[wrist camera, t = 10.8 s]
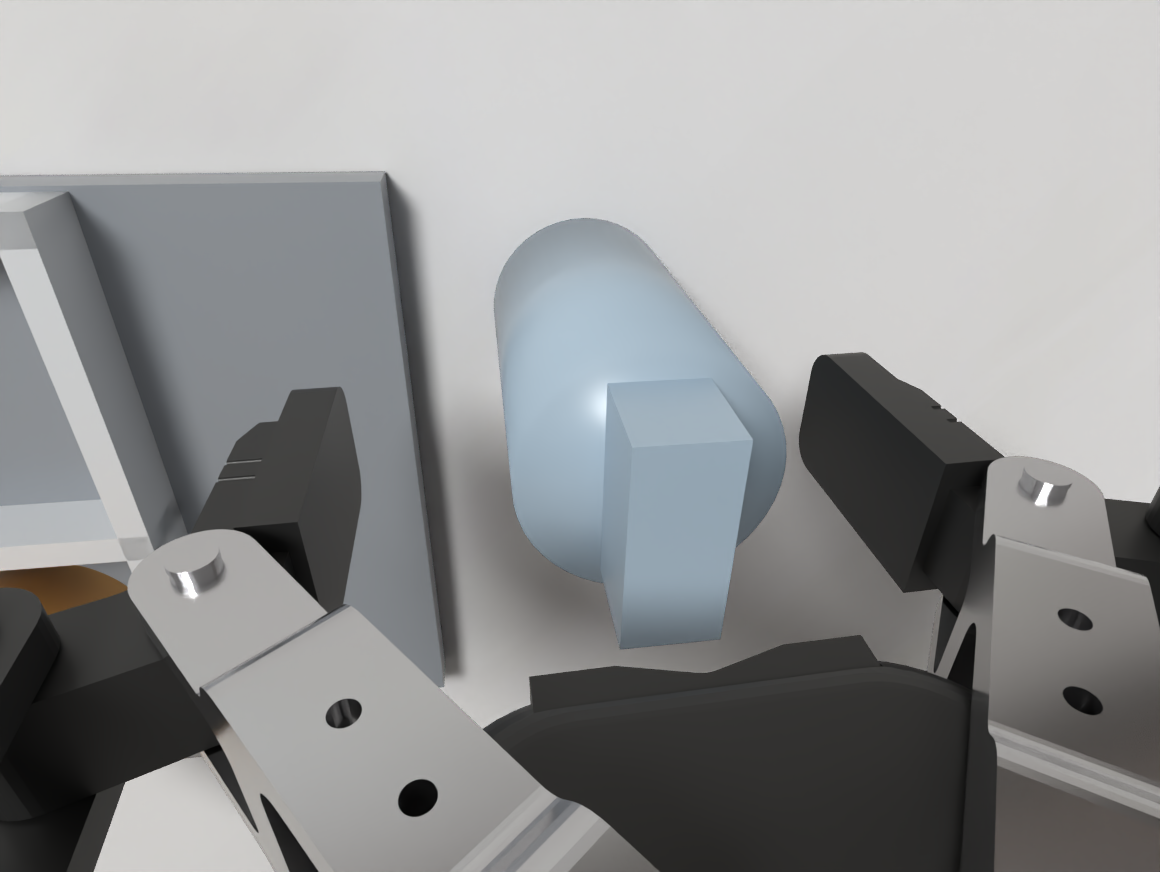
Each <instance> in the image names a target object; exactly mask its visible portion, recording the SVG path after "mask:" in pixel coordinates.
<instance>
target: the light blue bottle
mask: <svg viewBox="0 0 1160 872" xmlns="http://www.w3.org/2000/svg"><path fill="white" fill-rule="evenodd" d="M494 317H495V327H496V337H497V347H498V357H499V367H500V377H501V387H502V397H503V407H504V417H505V427H506V437H507V447H508V457H509V467H510V477H511V487H512V496H513V503H514V508H515V511H516V515H517V518H518V521H519V523H520V525H521V527H522V529H523V531H524V533H525V534H526V536H527V537H528V539H529V540H530V542H531V543H532V545H533V546H534V547H535V548H536V549H537V550H538V551H539V552H540V553H541V554H542V555H543V556H544V557H546V558H547V559H548V560H549V561H551V562H552V563H553V564H555V565H556V566H558V567H560V568H562V569H563V570H565V571H567V572H569V573H571V574H574V575H576V576H578V577H581V578H584V579H587V580H591V581H594V582H599V583H604V587H605V591H606V595H607V599H608V603H609V607H610V611H611V615H612V619H613V623H614V627H615V631H616V636H617V640H618V644H619V648H620V649H630V648H640V647H650V646H660V645H669V644H679V643H689V642H699V641H709V640H719V639H720V638H721V632H722V626H723V620H724V614H725V608H726V602H727V596H728V590H729V584H730V578H731V572H732V566H733V559H734V553H735V548H736V547H737V546H738V545H739V544H740V543H741V542H743V541H744V540H745V539H746V538H747V537H748V536H749V535H750V534H751V533H752V532H753V530H754V529H755V528H756V527H757V526H758V525H759V523H760V522H761V521H762V519H763V518H764V517H765V515H766V514H767V512H768V511H769V509H770V507H771V505H772V504H773V502H774V500H775V498H776V495H777V493H778V491H779V488H780V486H781V482H782V479H783V475H784V471H785V463H786V440H785V434H784V429H783V425H782V423H781V420H780V417H779V414H778V412H777V410H776V409H775V407H774V405H773V403H772V402H771V400H770V399H769V397H768V396H767V395H766V393H765V392H764V391H763V390H762V388H761V387H760V386H759V385H758V383H757V382H756V381H755V380H754V378H753V377H752V376H751V375H750V373H749V372H748V371H747V370H746V368H745V367H744V366H743V365H742V363H741V362H740V361H739V360H738V358H737V357H736V356H735V354H734V353H733V352H732V351H731V349H730V348H729V347H728V346H727V344H726V343H725V342H724V341H723V339H722V338H721V337H720V336H719V334H718V333H717V332H716V331H715V329H714V328H713V327H712V326H711V324H710V323H709V322H708V321H707V319H706V318H705V317H704V315H703V314H702V313H701V312H700V310H699V309H698V308H697V307H696V305H695V304H694V303H693V302H692V300H691V299H690V298H689V297H688V295H687V294H686V293H685V292H684V290H683V289H682V288H681V287H680V285H679V284H678V283H677V282H676V280H675V279H674V278H673V276H672V275H671V274H670V273H669V271H668V270H667V269H666V268H665V266H664V265H663V264H662V263H661V261H660V260H659V259H658V258H657V256H656V255H655V254H654V253H653V251H652V250H651V249H650V248H649V246H648V245H647V244H646V243H645V242H644V241H643V240H642V239H641V238H639V237H638V236H637V235H636V234H634V233H633V232H631V231H630V230H628V229H626V228H624V227H622V226H620V225H618V224H615V223H612V222H609V221H605V220H599V219H590V218H580V219H570V220H566V221H561V222H558V223H555V224H552V225H550V226H547V227H545V228H543V229H542V230H540V231H538V232H536V233H535V234H533V235H532V236H530V237H529V238H528V239H526V240H525V241H524V242H523V243H522V244H521V245H520V246H519V247H518V248H517V249H516V250H515V251H514V253H513V254H512V255H511V256H510V258H509V259H508V261H507V263H506V264H505V266H504V268H503V270H502V272H501V274H500V276H499V279H498V283H497V286H496V290H495V297H494Z"/></svg>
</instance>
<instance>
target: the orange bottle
mask: <svg viewBox="0 0 1160 872" xmlns="http://www.w3.org/2000/svg"><path fill="white" fill-rule="evenodd" d="M5 587H6V588H19V589H25V590H27V591H30V592H32V593H33V594H35V595H36V596H37V597H38V598H39V600H40V602H41V604H42V605H43V607H44V609H45V611H46V613H47V615H50V614H53V613H57V612H60V611H63V610H67V609H70V608H73V607H77V606H80V605H83V604H87V603H90V602H93V601H97V600H100V599H103V598H107V597H110V596H113V595H116V594H119V593H121V592H124V591H126V590H128V588H127V586H126V585H124V584H123V583H121V582H120V581H118V580H116V579H114V578H112V577H110V576H108V575H106V574H103V573H101V572H99V571H96V570H93V569H90V568H87V567H83V566H79V565H70V566H57V567H44V568H31V569H18V570H5V571H0V588H5Z"/></svg>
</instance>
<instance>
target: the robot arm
mask: <svg viewBox="0 0 1160 872" xmlns="http://www.w3.org/2000/svg"><path fill="white" fill-rule="evenodd" d="M799 448H800V454H801V457H802V460H803V463H804V465H805V466H806V468H807V469H808V471H809V472H810V473H811V474H812V476H813V477H814V478H815V480H816V481H817V482H818V483H819V485H820V486H821V487H822V489H823V490H824V491H825V492H826V494H827V495H828V496H829V498H830V499H831V500H832V501H833V503H834V504H835V505H836V507H837V508H838V509H839V510H840V512H841V513H842V514H843V516H844V517H845V518H846V519H847V521H848V522H849V523H850V525H851V526H852V527H853V528H854V530H855V531H856V532H857V534H858V535H859V536H860V537H861V539H862V540H863V541H864V543H865V544H866V545H867V546H868V548H869V549H870V550H871V552H872V553H873V554H874V555H875V557H876V558H877V559H878V560H879V562H880V563H881V564H882V566H883V567H884V568H885V569H886V571H887V572H888V573H889V575H890V576H891V577H892V578H893V580H894V581H895V582H896V584H897V585H898V586H899V587H900V589H901V590H902V591H903V593H906V592H915V591H923V590H931V589H939V590H940V592H941V593H942V594H941V597H940V600H939V603H938V605H937V608H936V611H935V617H934V624H933V631H932V639H931V646H930V653H929V660H928V667H927V671H924V670H920V669H916V668H913V667H909V666H905V665H900V664H895V663H889V662H883V661H877V659H876V658H875V656H874V655H873V653H872V651H871V650H870V648H869V647H868V645H867V644H866V642H865V641H864V639H863V638H862V636H861V635H857V636H849V637H841V638H833V639H825V640H817V641H810V642H802V643H794V644H786V645H782V646H779V647H776V648H774V649H771V650H769V651H766V652H763V653H761V654H758V655H756V656H753V657H750V658H748V659H745V660H743V661H740V662H737V663H735V664H732V665H730V666H727V667H725V668H722V669H719V670H717V671H714V672H710V673H691V672H679V671H667V670H655V669H644V668H632V667H620V666H611V667H603V668H595V669H587V670H579V671H571V672H563V673H556V674H548V675H540V676H532V677H529V681H530V700H531V705H528V706H525V707H523V708H520V709H518V710H515V711H513V712H511V713H509V714H507V715H505V716H503V717H502V718H500V719H498V720H496V721H494V722H493V723H491V724H490V725H488V726H487V727H485V728H484V729H482V728H481V727H480V726H479V725H478V724H477V723H476V722H474V721H473V720H472V719H471V718H470V717H469V716H468V715H467V714H466V713H465V712H464V711H463V710H462V709H461V708H460V707H459V706H458V705H457V704H456V703H454V702H453V701H452V700H451V699H450V698H449V697H448V696H447V695H446V694H445V693H444V692H443V691H442V690H441V689H440V688H439V687H438V686H437V685H436V684H434V683H433V682H432V681H431V680H430V679H429V678H428V677H427V676H426V675H425V674H424V673H423V672H422V671H421V670H420V669H419V668H418V667H417V666H416V665H415V664H413V663H412V662H411V661H410V660H409V659H408V658H407V657H406V656H405V655H404V654H403V653H402V652H401V651H400V650H399V649H398V648H397V647H396V646H395V645H393V644H392V643H391V642H390V641H389V640H388V639H387V638H386V637H385V636H384V635H383V634H382V633H381V632H380V631H379V630H378V629H377V628H376V627H375V626H373V625H372V624H371V623H370V622H369V621H368V620H367V619H366V618H365V617H364V616H363V615H362V614H361V613H360V612H359V611H357V610H356V609H355V608H353V607H352V606H350V605H347V604H343V602H344V596H345V591H346V585H347V580H348V574H349V569H350V563H351V558H352V552H353V547H354V541H355V535H356V530H357V524H358V519H359V513H360V508H361V476H360V469H359V464H358V459H357V453H356V448H355V443H354V438H353V433H352V428H351V423H350V417H349V412H348V407H347V402H346V398H345V394H344V391H343V389H342V388H341V387H326V388H311V389H296V390H292V391H291V392H290V394H289V396H288V398H287V401H286V403H285V406H284V408H283V410H282V413H281V415H280V417H279V420H278V421H273V422H260V423H258V424H257V425H255V426H254V427H253V428H252V429H251V430H249V431H248V432H247V433H246V434H244V435H243V436H242V437H241V438H239V439H238V440H237V441H236V443H235V445H234V447H233V449H232V451H231V453H230V455H229V457H228V459H227V461H226V462H227V465H224V467H223V469H222V471H221V473H220V475H219V477H218V482H216V483H215V485H214V487H213V489H212V491H211V493H210V495H209V497H208V499H207V501H206V503H205V505H204V507H203V509H202V511H201V513H200V515H199V517H198V519H197V521H196V523H195V525H194V527H193V529H192V531H191V533H190V534H189V535H186V536H183V537H180V538H178V539H175V540H173V541H171V542H169V543H167V544H165V545H163V546H161V547H160V548H158V549H156V550H155V551H153V552H152V553H151V554H149V555H148V556H147V557H145V558H144V559H143V560H142V561H141V562H140V563H139V564H138V565H137V567H136V568H135V569H134V570H133V572H132V574H131V576H130V578H129V581H128V585H127V588H128V590H126V591H124V592H121V593H119V594H116V595H113V596H110V597H107V598H103V599H100V600H97V601H93V602H90V603H87V604H83V605H80V606H77V607H73V608H70V609H67V610H63V611H60V612H57V613H53V614H50V615H47V613H46V611H45V609H44V607H43V605H42V604H41V602H40V600H39V598H38V597H37V596H36V595H35V594H33V593H32V592H30V591H27V590H25V589H19V588H6V587H5V588H0V872H94V869H95V866H96V863H97V860H98V857H99V855H100V852H101V849H102V846H103V843H104V841H105V838H106V835H107V832H108V829H109V826H110V824H111V821H112V818H113V815H114V812H115V809H116V807H117V804H118V801H119V798H120V795H121V793H122V790H123V787H124V784H125V782H127V781H129V780H132V779H134V778H137V777H139V776H142V775H144V774H147V773H149V772H152V771H154V770H157V769H159V768H162V767H164V766H167V765H169V764H172V763H174V762H177V761H179V760H182V759H184V758H187V757H189V756H192V755H194V754H197V753H199V752H200V753H201V755H202V757H203V758H204V760H205V761H206V763H207V764H208V766H209V768H210V769H211V771H212V772H213V774H214V775H215V777H216V779H217V780H218V782H219V783H220V785H221V786H222V788H223V790H224V791H225V793H226V794H227V796H228V797H229V799H230V800H231V802H232V804H233V805H234V807H235V808H236V810H237V811H238V813H239V815H240V816H241V818H242V819H243V821H244V822H245V824H246V826H247V827H248V829H249V830H250V832H251V833H252V835H253V836H254V838H255V840H256V841H257V843H258V844H259V846H260V847H261V849H262V851H263V852H264V854H265V856H266V857H267V859H268V861H269V862H270V864H271V866H272V868H273V870H274V871H275V872H1160V487H1159V489H1158V491H1157V493H1156V494H1155V496H1154V498H1153V500H1152V502H1151V503H1141V502H1132V501H1122V500H1112V499H1104V496H1103V493H1102V492H1101V490H1100V489H1099V488H1098V487H1097V486H1096V485H1095V484H1094V483H1093V482H1092V481H1091V480H1089V479H1088V478H1087V477H1085V476H1083V475H1082V474H1080V473H1078V472H1076V471H1074V470H1072V469H1070V468H1068V467H1065V466H1063V465H1060V464H1057V463H1054V462H1051V461H1047V460H1043V459H1038V458H1033V457H1024V456H1011V457H1004V456H1003V455H1002V454H1000V453H999V452H998V451H997V450H995V449H994V448H993V447H992V446H990V445H989V444H988V443H987V442H985V441H984V440H983V439H982V438H980V437H979V436H978V435H977V434H976V433H974V432H973V431H972V430H971V429H969V428H968V427H967V426H966V425H964V424H963V423H962V422H957V418H956V417H954V416H953V415H952V414H951V413H949V412H948V411H947V410H946V409H941V405H940V404H938V403H937V402H936V401H935V400H933V399H932V398H931V397H930V396H928V395H927V394H926V393H925V392H923V391H922V390H920V389H918V388H916V387H914V386H912V385H910V384H907V383H905V382H903V381H901V380H899V379H897V378H896V377H894V376H893V375H892V374H891V373H890V372H888V371H887V370H886V369H885V368H883V367H882V366H881V365H880V364H879V363H877V362H876V361H875V360H874V359H873V358H871V357H870V356H869V355H868V354H866V353H863V352H860V353H845V354H830V355H821V356H819V357H818V358H817V359H816V360H815V362H814V364H813V367H812V371H811V376H810V381H809V386H808V391H807V397H806V402H805V407H804V412H803V417H802V422H801V428H800V433H799Z"/></svg>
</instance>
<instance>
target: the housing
mask: <svg viewBox="0 0 1160 872" xmlns="http://www.w3.org/2000/svg"><path fill="white" fill-rule="evenodd" d="M326 387H341V388H342V389H343V391H344V394H345V398H346V402H347V407H348V412H349V417H350V423H351V428H352V433H353V438H354V443H355V448H356V453H357V459H358V464H359V469H360V476H361V508H360V513H359V519H358V524H357V530H356V535H355V541H354V547H353V552H352V558H351V563H350V569H349V574H348V580H347V585H346V591H345V596H344V602H343V604H347V605H350V606H352V607H353V608H355V609H356V610H357V611H359V612H360V613H361V614H362V615H363V616H364V617H365V618H366V619H367V620H368V621H369V622H370V623H371V624H372V625H373V626H375V627H376V628H377V629H378V630H379V631H380V632H381V633H382V634H383V635H384V636H385V637H386V638H387V639H388V640H389V641H390V642H391V643H392V644H393V645H395V646H396V647H397V648H398V649H399V650H400V651H401V652H402V653H403V654H404V655H405V656H406V657H407V658H408V659H409V660H410V661H411V662H412V663H413V664H415V665H416V666H417V667H418V668H419V669H420V670H421V671H422V672H423V673H424V674H425V675H426V676H427V677H428V678H429V679H430V680H431V681H432V682H433V683H434V684H436V685H437V686H438V687H444V678H445V655H444V647H443V639H442V631H441V623H440V615H439V606H438V598H437V590H436V582H435V574H434V566H433V557H432V549H431V541H430V533H429V525H428V516H427V508H426V500H425V492H424V484H423V476H422V467H421V459H420V451H419V443H418V435H417V427H416V418H415V410H414V402H413V394H412V386H411V378H410V369H409V361H408V353H407V345H406V337H405V328H404V320H403V312H402V304H401V296H400V288H399V279H398V271H397V263H396V255H395V247H394V239H393V230H392V222H391V214H390V206H389V198H388V189H387V181H386V173H385V171H371V172H281V173H192V174H103V175H14V176H0V571H5V570H18V569H31V568H44V567H57V566H70V565H79V566H83V567H87V568H90V569H93V570H96V571H99V572H101V573H103V574H106V575H108V576H110V577H112V578H114V579H116V580H118V581H120V582H121V583H123V584H124V585H126V586H127V585H128V581H129V578H130V576H131V574H132V572H133V570H134V569H135V568H136V567H137V565H138V564H139V563H140V562H141V561H142V560H143V559H144V558H145V557H147V556H148V555H149V554H151V553H152V552H153V551H155V550H156V549H158V548H160V547H161V546H163V545H165V544H167V543H169V542H171V541H173V540H175V539H178V538H180V537H183V536H186V535H189V534H190V533H191V531H192V529H193V527H194V525H195V523H196V521H197V519H198V517H199V515H200V513H201V511H202V509H203V507H204V505H205V503H206V501H207V499H208V497H209V495H210V493H211V491H212V489H213V487H214V485H215V483H216V482H218V477H219V475H220V473H221V471H222V469H223V467H224V465H227V462H226V461H227V459H228V457H229V455H230V453H231V451H232V449H233V447H234V445H235V443H236V441H237V440H238V439H239V438H241V437H242V436H243V435H244V434H246V433H247V432H248V431H249V430H251V429H252V428H253V427H254V426H255V425H257V424H258V423H260V422H273V421H278V420H279V417H280V415H281V413H282V410H283V408H284V406H285V403H286V401H287V398H288V396H289V394H290V392H291V391H292V390H296V389H311V388H326ZM193 757H202V755H201V753H200V752H199V753H197V754H194V755H192V756H189V757H187V758H193Z"/></svg>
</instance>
